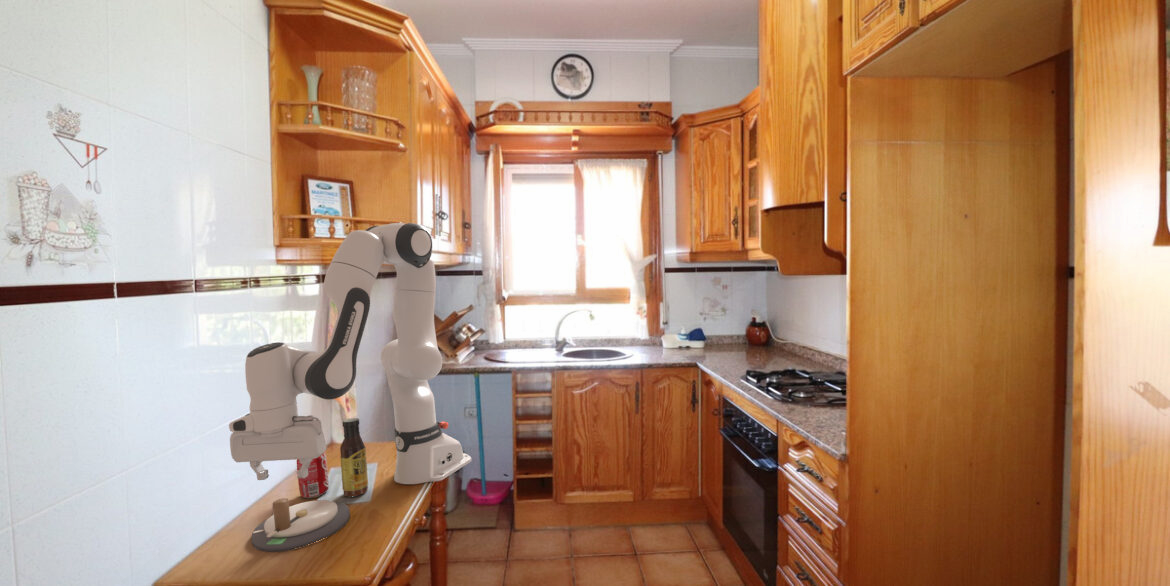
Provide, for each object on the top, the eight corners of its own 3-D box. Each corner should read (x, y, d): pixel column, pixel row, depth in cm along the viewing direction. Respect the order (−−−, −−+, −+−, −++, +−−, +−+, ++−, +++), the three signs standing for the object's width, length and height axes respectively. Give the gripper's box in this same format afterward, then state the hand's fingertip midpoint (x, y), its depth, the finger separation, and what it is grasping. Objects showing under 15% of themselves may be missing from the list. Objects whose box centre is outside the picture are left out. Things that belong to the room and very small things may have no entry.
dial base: (322, 500, 133) (322, 494, 133) (366, 518, 121) (366, 511, 121) (236, 537, 116) (235, 529, 116) (277, 561, 105) (277, 554, 105)
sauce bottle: (359, 498, 132) (352, 424, 131) (338, 498, 134) (331, 424, 132) (374, 487, 139) (367, 416, 137) (354, 487, 140) (347, 416, 139)
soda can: (322, 486, 142) (318, 444, 141) (334, 492, 137) (329, 449, 137) (295, 496, 136) (291, 452, 136) (306, 502, 132) (302, 457, 131)
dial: (299, 503, 128) (296, 475, 127) (351, 506, 124) (348, 477, 124) (240, 540, 111) (236, 508, 111) (298, 544, 108) (295, 511, 107)
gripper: (328, 410, 114) (335, 469, 115) (243, 415, 116) (251, 473, 117) (310, 419, 108) (318, 482, 109) (221, 424, 109) (230, 486, 111)
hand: (283, 478), depth 113 cm, fingers open, 8 cm apart
